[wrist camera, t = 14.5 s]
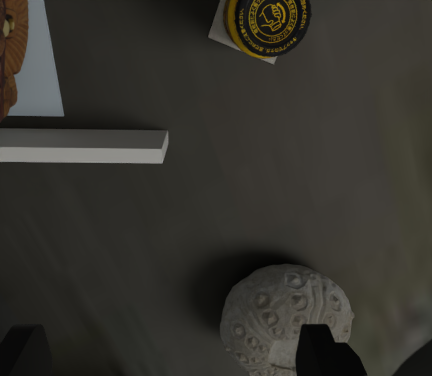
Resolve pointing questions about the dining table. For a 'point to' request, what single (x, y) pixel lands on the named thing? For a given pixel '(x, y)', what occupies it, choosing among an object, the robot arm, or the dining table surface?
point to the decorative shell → (280, 316)
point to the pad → (37, 70)
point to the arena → (82, 145)
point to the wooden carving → (11, 49)
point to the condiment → (261, 26)
